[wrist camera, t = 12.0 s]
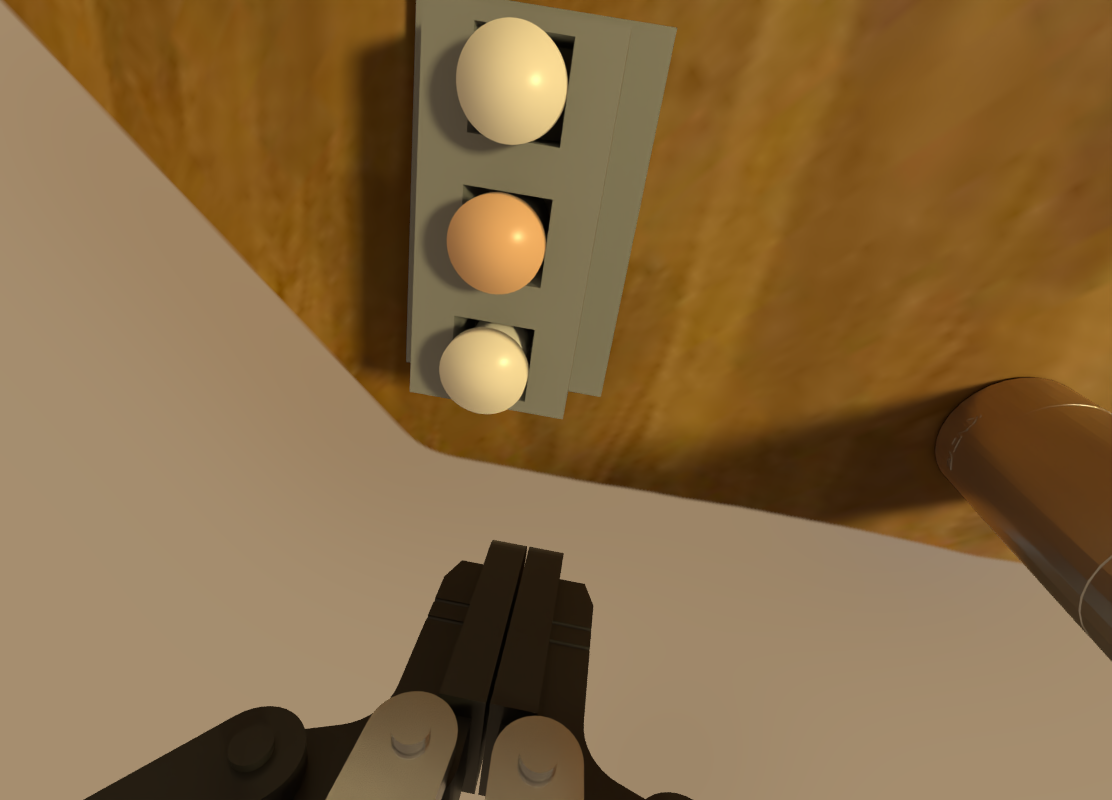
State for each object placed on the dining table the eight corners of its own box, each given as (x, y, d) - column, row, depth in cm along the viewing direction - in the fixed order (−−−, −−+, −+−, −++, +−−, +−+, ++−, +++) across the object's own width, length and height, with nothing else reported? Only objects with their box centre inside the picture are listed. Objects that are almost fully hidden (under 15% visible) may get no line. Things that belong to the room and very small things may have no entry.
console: (675, 30, 30) (689, 7, 24) (601, 390, 40) (597, 440, 34) (422, -11, 31) (371, -44, 25) (410, 356, 41) (372, 399, 35)
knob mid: (565, 185, 33) (550, 203, 26) (553, 265, 36) (536, 301, 29) (486, 172, 34) (449, 186, 26) (479, 252, 36) (443, 285, 29)
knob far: (548, 298, 37) (531, 342, 30) (539, 365, 39) (520, 420, 32) (476, 286, 37) (441, 326, 30) (470, 353, 39) (436, 405, 32)
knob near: (585, 48, 30) (574, 27, 23) (571, 145, 32) (557, 153, 25) (497, 34, 30) (459, 8, 23) (489, 131, 33) (452, 135, 25)
